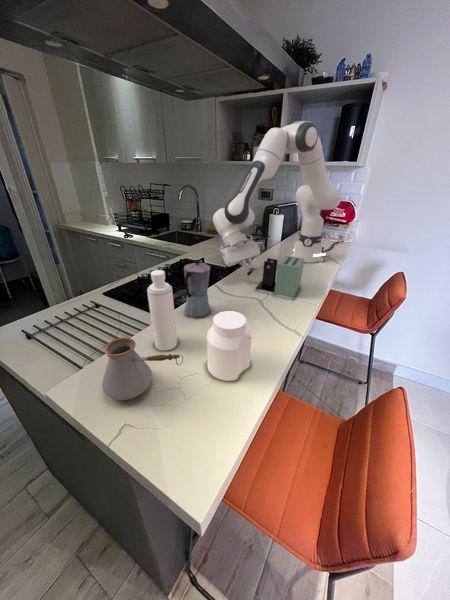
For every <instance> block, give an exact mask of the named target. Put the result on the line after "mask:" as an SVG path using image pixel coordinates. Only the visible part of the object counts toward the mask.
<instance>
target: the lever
mask: <svg viewBox="0 0 450 600" xmlns="http://www.w3.org/2000/svg"><path fill="white" fill-rule="evenodd" d="M270 262H274V261H270ZM261 270H264V265H262V266H259V267H257V268H252V269H250V270H248V272H247V273H246V275H247V276H250V275H252V274H254V273H256V272H260V271H261Z"/></svg>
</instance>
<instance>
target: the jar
mask: <svg viewBox="0 0 450 600" xmlns="http://www.w3.org/2000/svg"><path fill="white" fill-rule="evenodd" d="M252 339H253V336H252V333H251V331H250V329H249V328H248V327H247V318H246V316H245V315H243V314H242V313H241V312H238V311H234V310H225V311H220V312H218V313H216V314H215V315H214V316H213V318H212V326H211V327H210V328H209V329H208V332H207V333H206V347H207V348H206V349H207V351H206V352H207V364H206V365H207V370H208V372H209V373H210V374H211V376H213V377H214V378H216V379H218V380H221V381H226V382H233V381H236V380H238V379H239V377H240V375H241V374H242V373H243V372H244V371H245V370H247V369H248V368H249V367H250V364H251V362H250V361H251V350H252V349H251V348H252V347H251V346H252Z"/></svg>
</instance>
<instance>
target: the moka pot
mask: <svg viewBox="0 0 450 600" xmlns="http://www.w3.org/2000/svg"><path fill="white" fill-rule="evenodd" d="M183 273H184V274H183V275H184V280H183V281H184V287H185V290H186V300H185V306H184V307H185V308H184V312H185V314H186V315H187V316H189V317H191V318H201V317H205V316H207V315H208V314H209V313H210V302H209V295H208V290H209V282H210V275H211V266H210V265H208V264H207V263H206V262H200V259H195V260H194V262H193V263H188V264H185V265H184V266H183Z"/></svg>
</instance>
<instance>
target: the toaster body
mask: <svg viewBox="0 0 450 600" xmlns="http://www.w3.org/2000/svg"><path fill="white" fill-rule="evenodd" d="M304 264H305V262H304V258H298V257H292V256H290V255H284V256H283V258H282V259H281V260H280V261H279V262H278V263H277V271H276V279H275V282H276V285H275V292H274V295H277V296H283V297H286V298H292V299H294V298H295V296H296V294H297V293H298V291H299V289H300V287H301V281H302V275H303V271H304Z"/></svg>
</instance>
